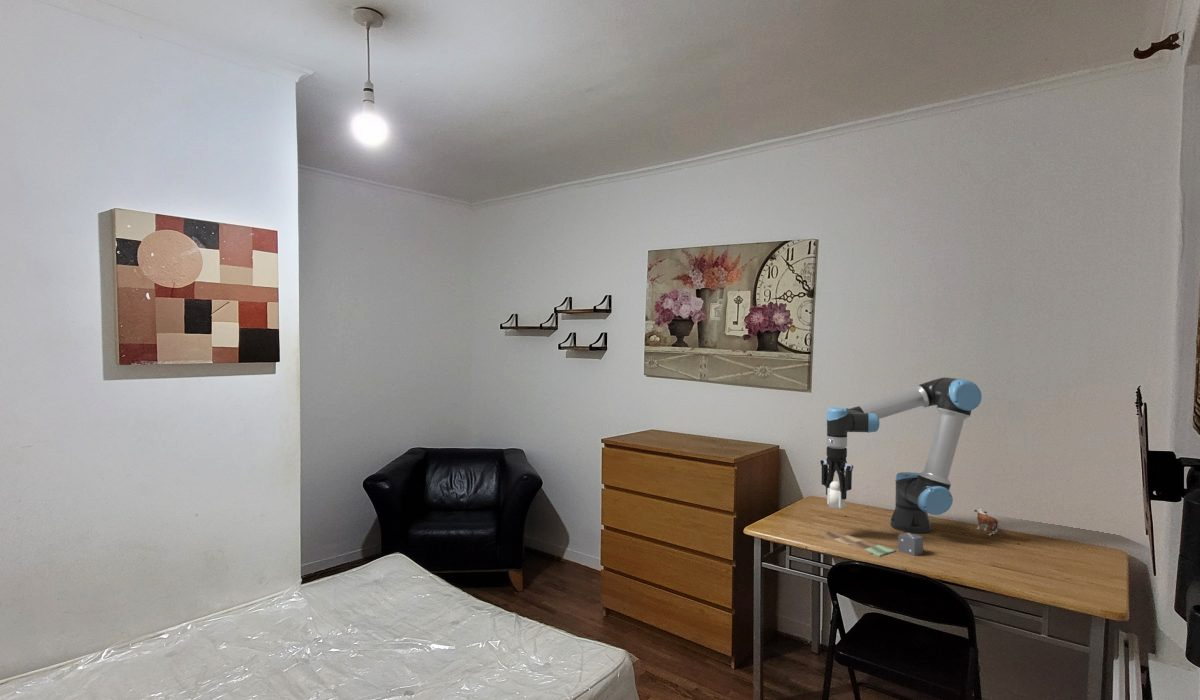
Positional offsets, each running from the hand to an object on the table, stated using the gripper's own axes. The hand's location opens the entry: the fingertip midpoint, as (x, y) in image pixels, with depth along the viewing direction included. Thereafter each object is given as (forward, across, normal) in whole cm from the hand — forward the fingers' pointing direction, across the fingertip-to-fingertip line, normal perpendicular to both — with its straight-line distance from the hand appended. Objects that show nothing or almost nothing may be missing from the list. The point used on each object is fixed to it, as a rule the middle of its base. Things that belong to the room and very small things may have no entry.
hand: (835, 505), depth 235 cm
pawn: (+1, 0, 0) cm, 1 cm away
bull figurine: (+13, +27, +60) cm, 67 cm away
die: (+13, +25, +10) cm, 30 cm away
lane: (+13, +9, 0) cm, 15 cm away
